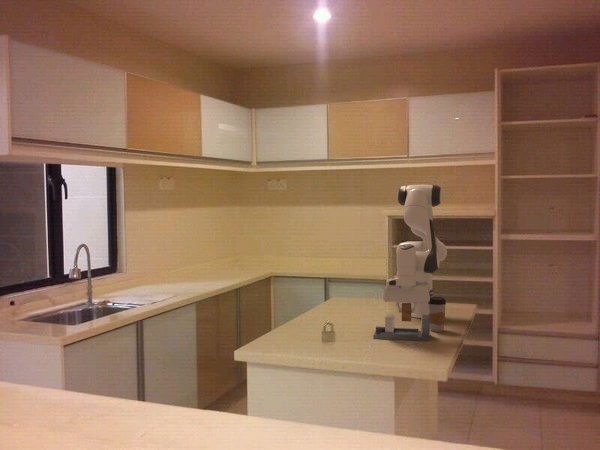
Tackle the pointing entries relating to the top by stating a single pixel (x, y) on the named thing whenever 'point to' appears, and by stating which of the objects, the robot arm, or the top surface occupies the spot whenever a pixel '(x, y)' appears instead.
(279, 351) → the top surface
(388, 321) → the jaw
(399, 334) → the vise
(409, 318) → the block
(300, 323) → the top surface
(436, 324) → the coffee cup
